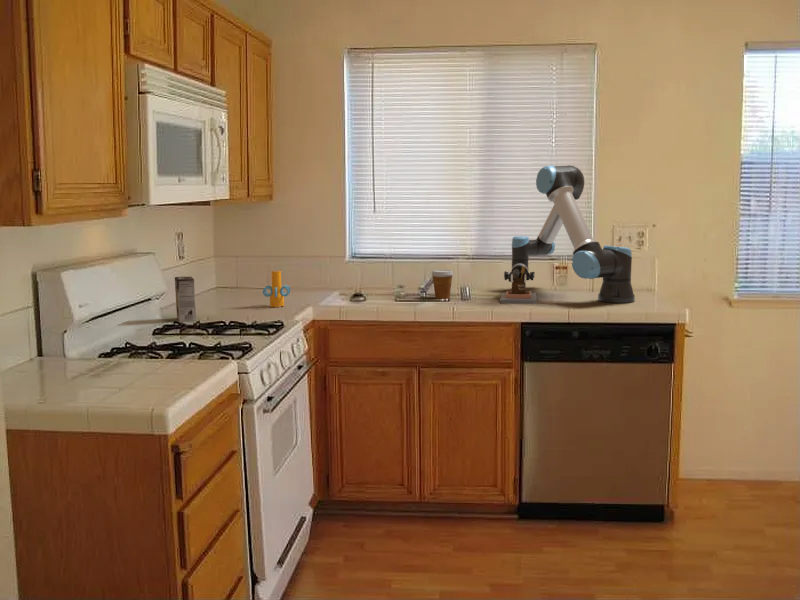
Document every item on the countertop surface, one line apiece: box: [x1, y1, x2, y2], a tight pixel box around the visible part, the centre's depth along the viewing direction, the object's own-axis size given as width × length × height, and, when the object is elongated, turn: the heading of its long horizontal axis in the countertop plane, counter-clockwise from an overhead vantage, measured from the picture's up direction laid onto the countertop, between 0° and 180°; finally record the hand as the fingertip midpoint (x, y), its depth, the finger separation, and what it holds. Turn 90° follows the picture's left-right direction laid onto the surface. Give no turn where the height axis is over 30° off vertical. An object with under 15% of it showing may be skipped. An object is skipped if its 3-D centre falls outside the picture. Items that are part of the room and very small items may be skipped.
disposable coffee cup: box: [431, 269, 454, 300], centre depth 384 cm, size 10×10×12 cm
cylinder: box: [262, 269, 291, 308], centre depth 364 cm, size 12×10×15 cm
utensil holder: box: [511, 266, 527, 294], centre depth 375 cm, size 6×6×12 cm
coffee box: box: [174, 276, 197, 322], centre depth 334 cm, size 9×6×16 cm
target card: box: [499, 290, 537, 305], centre depth 376 cm, size 15×22×3 cm
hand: (518, 279), depth 370 cm, fingers closed on utensil holder, 5 cm apart
